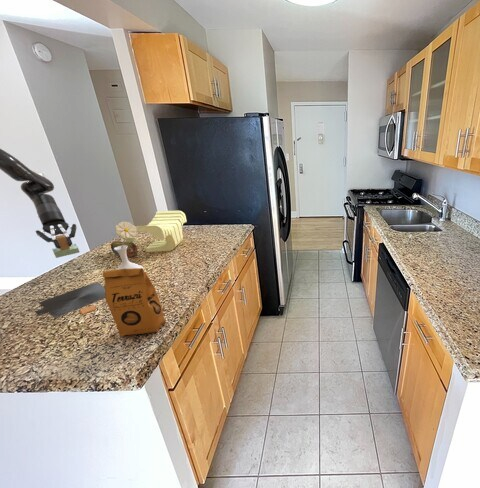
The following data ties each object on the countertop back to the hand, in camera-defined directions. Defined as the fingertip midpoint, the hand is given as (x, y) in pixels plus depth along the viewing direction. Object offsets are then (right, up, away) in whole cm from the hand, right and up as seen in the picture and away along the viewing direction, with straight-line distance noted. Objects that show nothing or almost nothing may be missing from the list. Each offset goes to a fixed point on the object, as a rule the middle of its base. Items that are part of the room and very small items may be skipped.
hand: (64, 246), depth 116 cm
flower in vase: (+27, -13, +5) cm, 30 cm away
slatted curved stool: (+24, -1, +36) cm, 43 cm away
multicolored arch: (+9, -5, +24) cm, 27 cm away
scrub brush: (-3, -3, +4) cm, 5 cm away
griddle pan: (+21, -21, -15) cm, 33 cm away
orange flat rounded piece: (+31, -24, -22) cm, 45 cm away
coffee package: (+56, -27, -30) cm, 69 cm away
